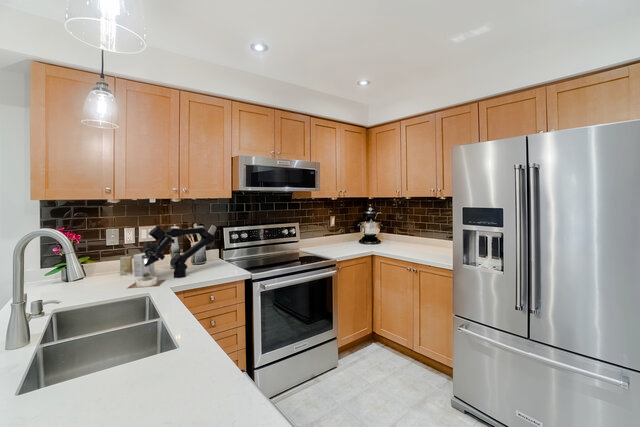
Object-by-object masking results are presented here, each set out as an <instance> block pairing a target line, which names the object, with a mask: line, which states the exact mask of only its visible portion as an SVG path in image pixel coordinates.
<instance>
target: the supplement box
mask: <svg viewBox="0 0 640 427" xmlns="http://www.w3.org/2000/svg"><path fill="white" fill-rule="evenodd" d="M142 255H145V252H143V253H142V252H141V253H138V254H133V256H132V257H133V270H134V273H133V274H134V277H136V278H139V277H140V278H143V277H142V265H141V258H142ZM150 265H151V275H152V276H155V262H154V263H152V264H150Z"/></svg>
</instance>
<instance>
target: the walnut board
mask: <svg viewBox="0 0 640 427" xmlns="http://www.w3.org/2000/svg"><path fill="white" fill-rule="evenodd" d="M166 281H167V279H158V283H157V284H154V285H151V286H144V287H138V286H136V282H135V281H134V283H132V284H131V285H129V286H128V287H126V289H140V288H141V289H142V288H152V287H160V286H162V284H164V283H165V282H166Z"/></svg>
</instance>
